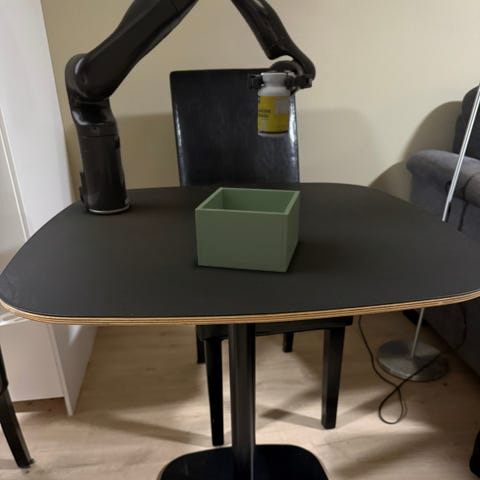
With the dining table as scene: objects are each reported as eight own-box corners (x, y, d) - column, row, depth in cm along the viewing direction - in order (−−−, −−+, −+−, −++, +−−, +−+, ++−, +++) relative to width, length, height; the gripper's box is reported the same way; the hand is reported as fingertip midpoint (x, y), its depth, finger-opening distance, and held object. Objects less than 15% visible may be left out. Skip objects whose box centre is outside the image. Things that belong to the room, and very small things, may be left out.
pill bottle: (255, 133, 103) (256, 73, 97) (285, 133, 103) (287, 72, 98) (259, 138, 97) (260, 74, 92) (291, 137, 98) (293, 73, 92)
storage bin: (198, 265, 84) (194, 209, 80) (221, 236, 98) (219, 187, 93) (285, 272, 81) (288, 214, 76) (297, 241, 94) (300, 190, 90)
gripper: (253, 60, 107) (236, 61, 93) (318, 59, 104) (310, 61, 90) (253, 97, 111) (236, 103, 96) (316, 97, 108) (308, 104, 94)
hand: (272, 83), depth 93 cm, fingers closed on pill bottle, 5 cm apart
